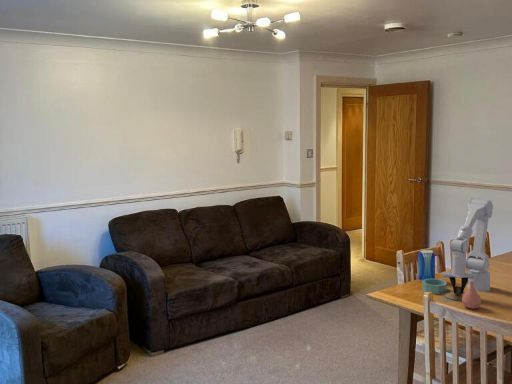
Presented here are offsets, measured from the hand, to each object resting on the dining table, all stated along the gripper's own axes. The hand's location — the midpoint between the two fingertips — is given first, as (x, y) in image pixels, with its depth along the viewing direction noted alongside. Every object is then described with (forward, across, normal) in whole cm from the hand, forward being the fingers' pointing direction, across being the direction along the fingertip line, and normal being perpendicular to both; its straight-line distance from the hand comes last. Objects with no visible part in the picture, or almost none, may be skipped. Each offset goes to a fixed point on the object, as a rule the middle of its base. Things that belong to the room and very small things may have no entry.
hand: (458, 293), depth 233 cm
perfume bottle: (+2, +4, -13) cm, 14 cm away
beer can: (+2, -13, +23) cm, 27 cm away
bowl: (+2, -10, +8) cm, 13 cm away
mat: (+2, 0, 0) cm, 2 cm away
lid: (+2, 0, 0) cm, 2 cm away
